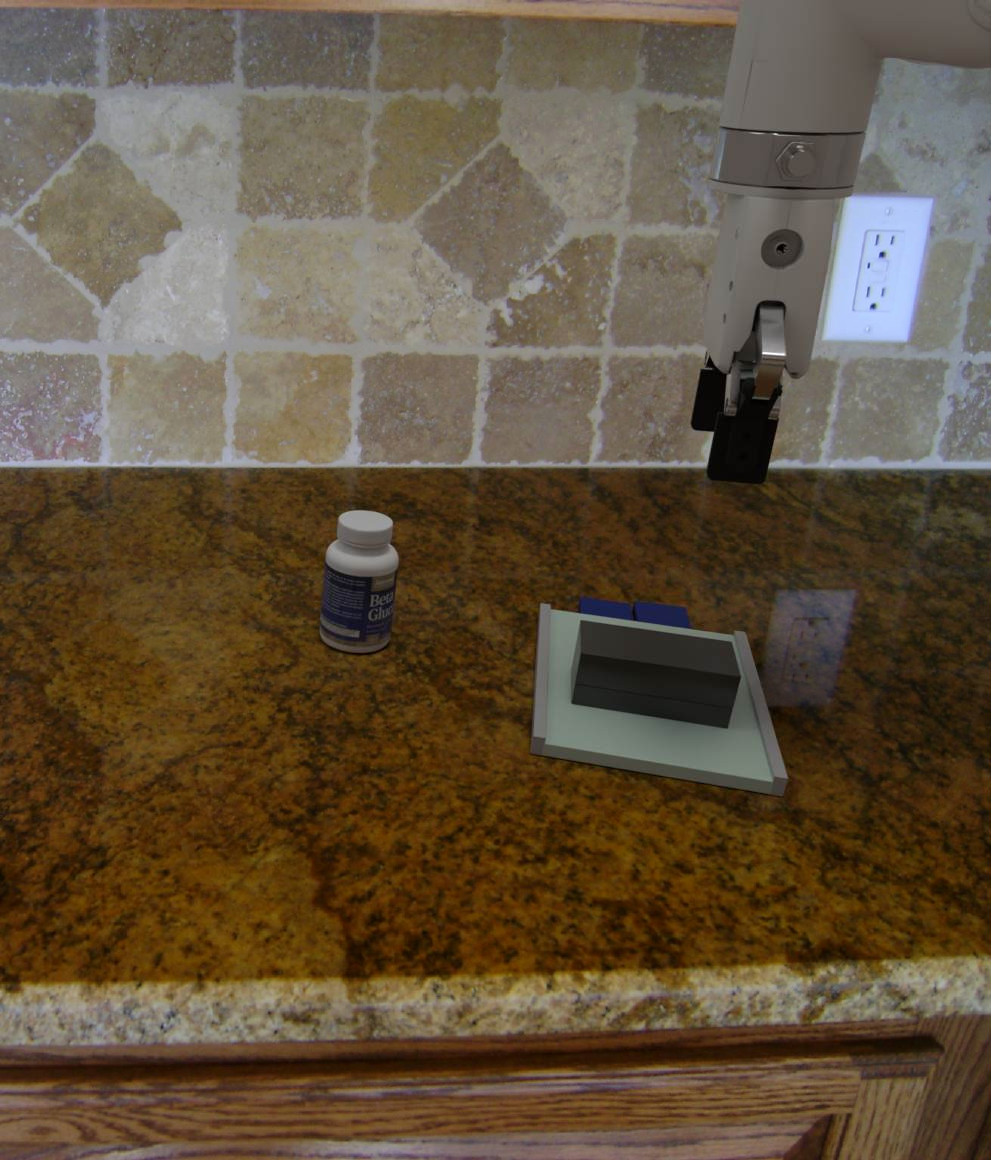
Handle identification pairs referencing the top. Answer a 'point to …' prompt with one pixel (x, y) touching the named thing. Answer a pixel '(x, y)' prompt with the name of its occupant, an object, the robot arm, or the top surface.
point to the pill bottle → (359, 583)
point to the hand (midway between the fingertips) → (724, 454)
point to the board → (652, 719)
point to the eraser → (655, 673)
